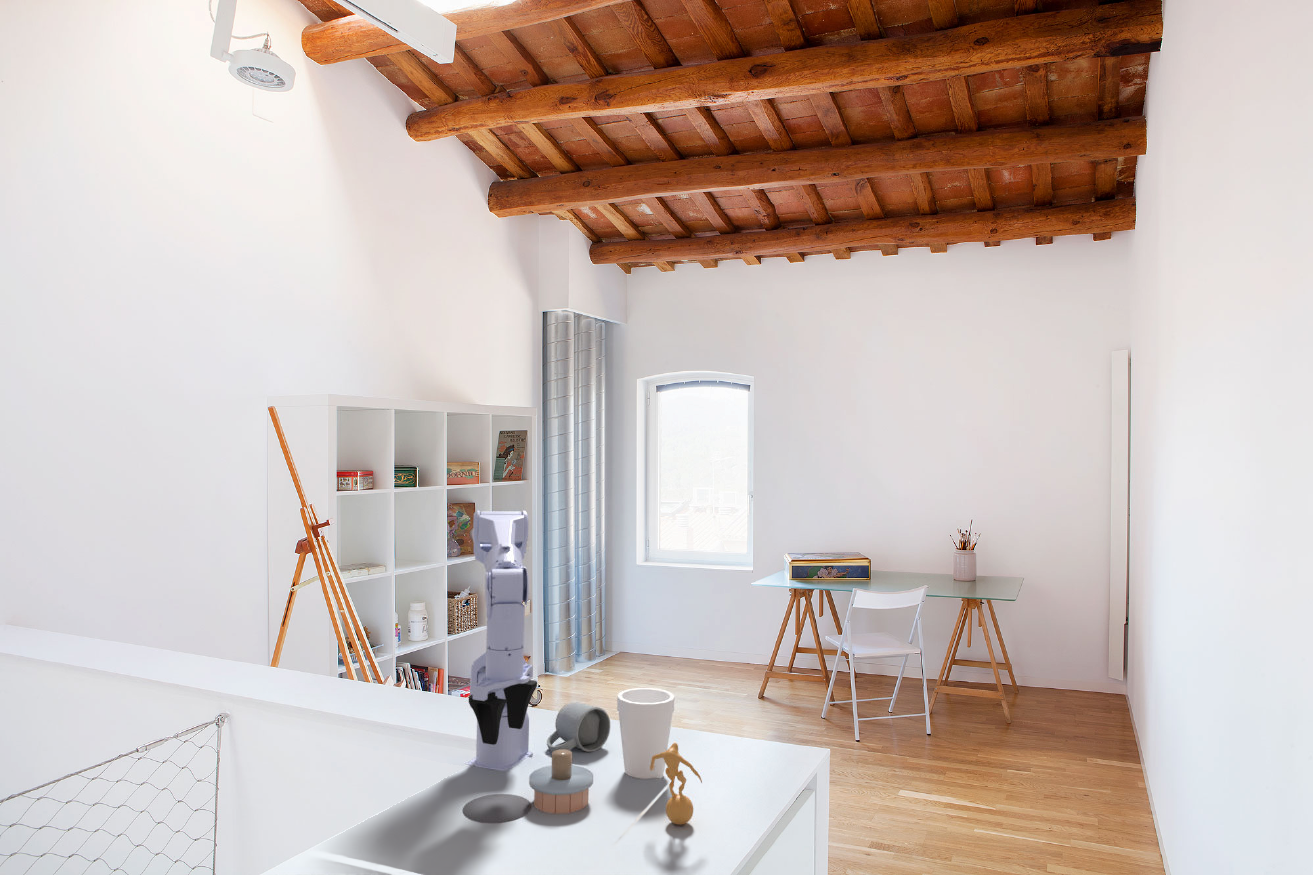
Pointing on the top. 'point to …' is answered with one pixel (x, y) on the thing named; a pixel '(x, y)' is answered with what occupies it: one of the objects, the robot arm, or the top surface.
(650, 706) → the foam cup
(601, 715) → the ceramic mug
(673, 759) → the figurine
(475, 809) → the mat
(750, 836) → the top surface
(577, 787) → the lid
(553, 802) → the bowl
